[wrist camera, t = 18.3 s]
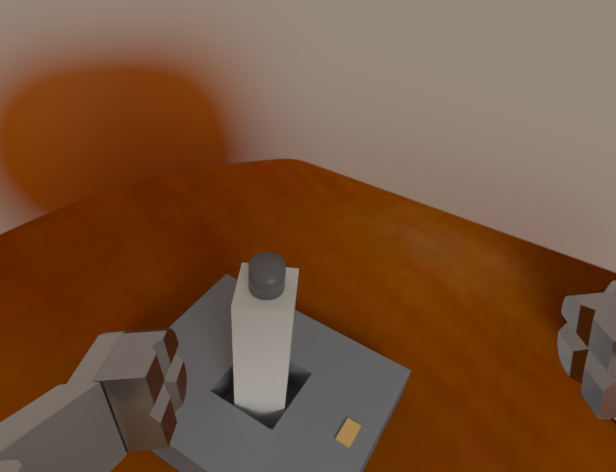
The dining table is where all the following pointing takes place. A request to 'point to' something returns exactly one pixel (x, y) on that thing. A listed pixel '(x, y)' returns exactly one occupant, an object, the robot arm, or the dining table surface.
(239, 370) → the white square bottle
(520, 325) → the dining table surface
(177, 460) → the block
